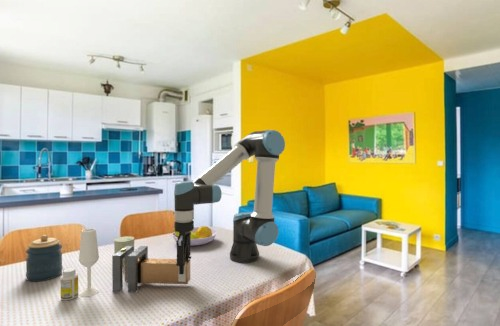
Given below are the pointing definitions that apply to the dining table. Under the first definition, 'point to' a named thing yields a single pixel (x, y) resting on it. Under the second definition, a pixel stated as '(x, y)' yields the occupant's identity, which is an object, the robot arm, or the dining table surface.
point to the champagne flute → (88, 257)
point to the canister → (44, 259)
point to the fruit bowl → (199, 235)
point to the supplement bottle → (69, 284)
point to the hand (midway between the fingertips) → (183, 278)
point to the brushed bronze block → (160, 271)
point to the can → (123, 244)
